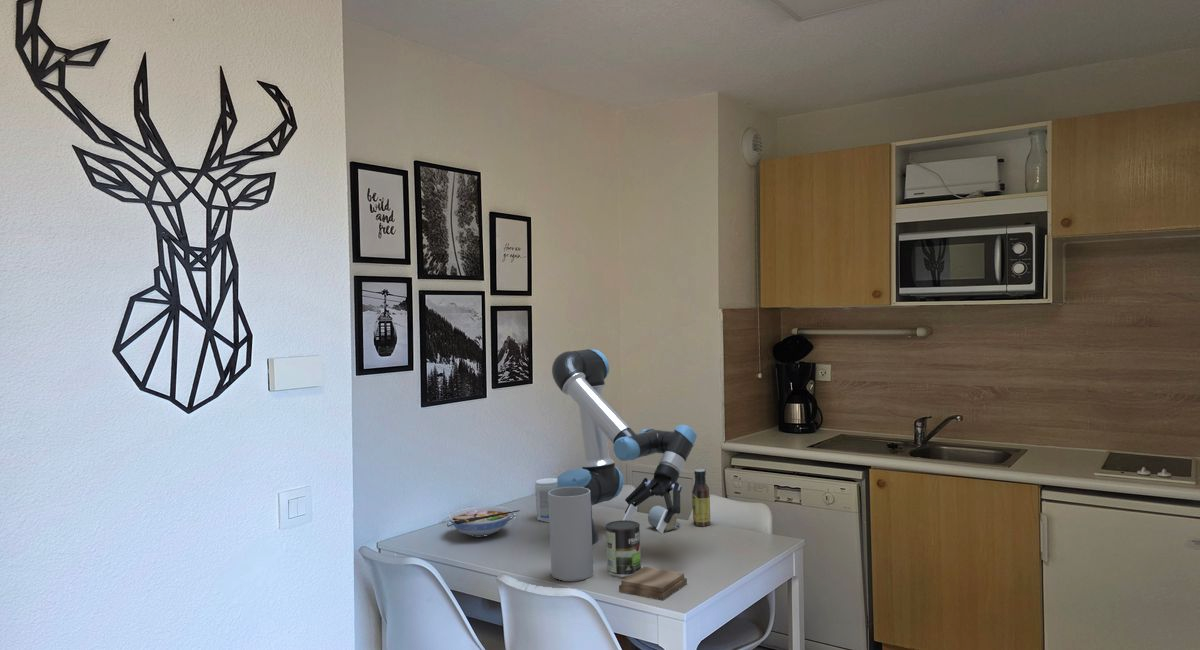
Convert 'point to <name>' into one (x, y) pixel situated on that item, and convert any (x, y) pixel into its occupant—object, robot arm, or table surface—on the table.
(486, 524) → the ramen bowl
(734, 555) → the table surface
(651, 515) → the ceramic mug
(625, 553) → the coffee can
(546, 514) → the supplement tub
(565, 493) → the cylinder vase
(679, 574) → the walnut plinth
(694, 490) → the sauce bottle
